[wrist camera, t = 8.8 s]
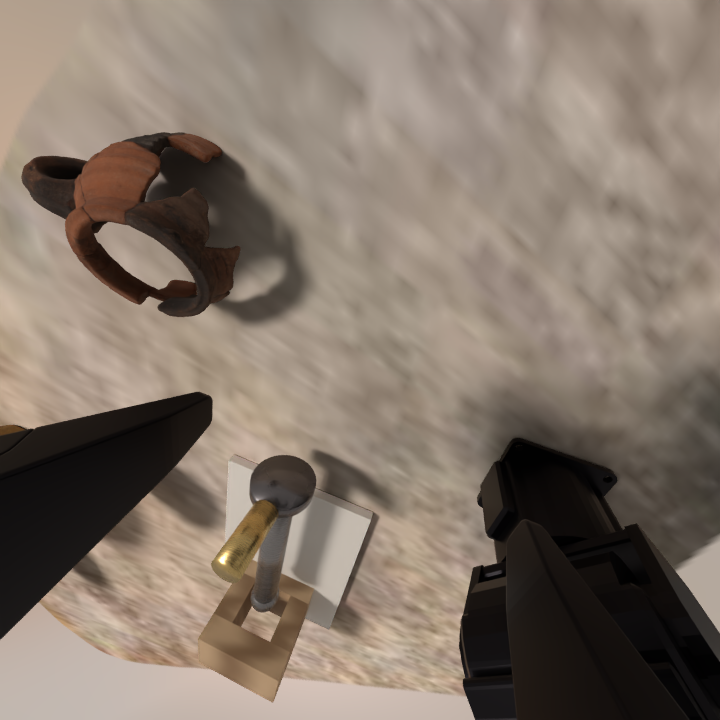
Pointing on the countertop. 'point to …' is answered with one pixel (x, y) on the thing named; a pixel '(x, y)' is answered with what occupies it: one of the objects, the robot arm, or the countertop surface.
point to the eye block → (246, 650)
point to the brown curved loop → (136, 217)
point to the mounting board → (308, 540)
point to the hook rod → (267, 526)
